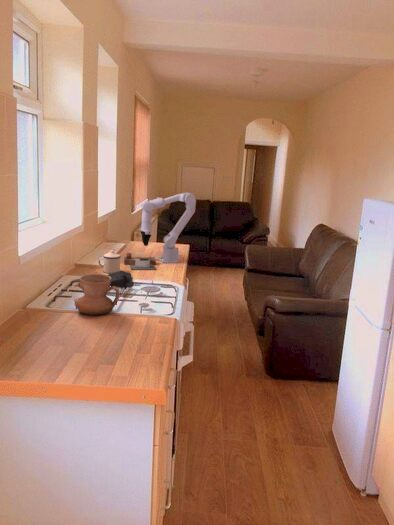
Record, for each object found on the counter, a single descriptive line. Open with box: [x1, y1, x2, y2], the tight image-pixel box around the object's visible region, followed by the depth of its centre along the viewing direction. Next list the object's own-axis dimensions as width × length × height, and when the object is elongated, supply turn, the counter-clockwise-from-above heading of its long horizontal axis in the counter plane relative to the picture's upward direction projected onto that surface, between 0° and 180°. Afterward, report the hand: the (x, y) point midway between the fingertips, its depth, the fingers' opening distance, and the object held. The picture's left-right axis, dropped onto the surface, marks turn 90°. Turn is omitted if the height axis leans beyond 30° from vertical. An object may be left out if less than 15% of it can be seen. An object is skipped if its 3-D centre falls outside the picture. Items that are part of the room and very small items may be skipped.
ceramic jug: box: [73, 273, 121, 316], centre depth 178 cm, size 18×14×14 cm
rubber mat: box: [129, 265, 157, 271], centre depth 255 cm, size 14×9×1 cm, turn 102°
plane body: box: [123, 252, 157, 266], centre depth 265 cm, size 18×8×6 cm, turn 102°
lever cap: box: [135, 258, 150, 268], centre depth 255 cm, size 8×5×5 cm, turn 100°
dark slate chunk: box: [107, 270, 133, 288], centre depth 225 cm, size 15×22×5 cm
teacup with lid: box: [97, 250, 121, 274], centre depth 242 cm, size 12×9×12 cm
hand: (145, 244), depth 270 cm, fingers open, 7 cm apart
